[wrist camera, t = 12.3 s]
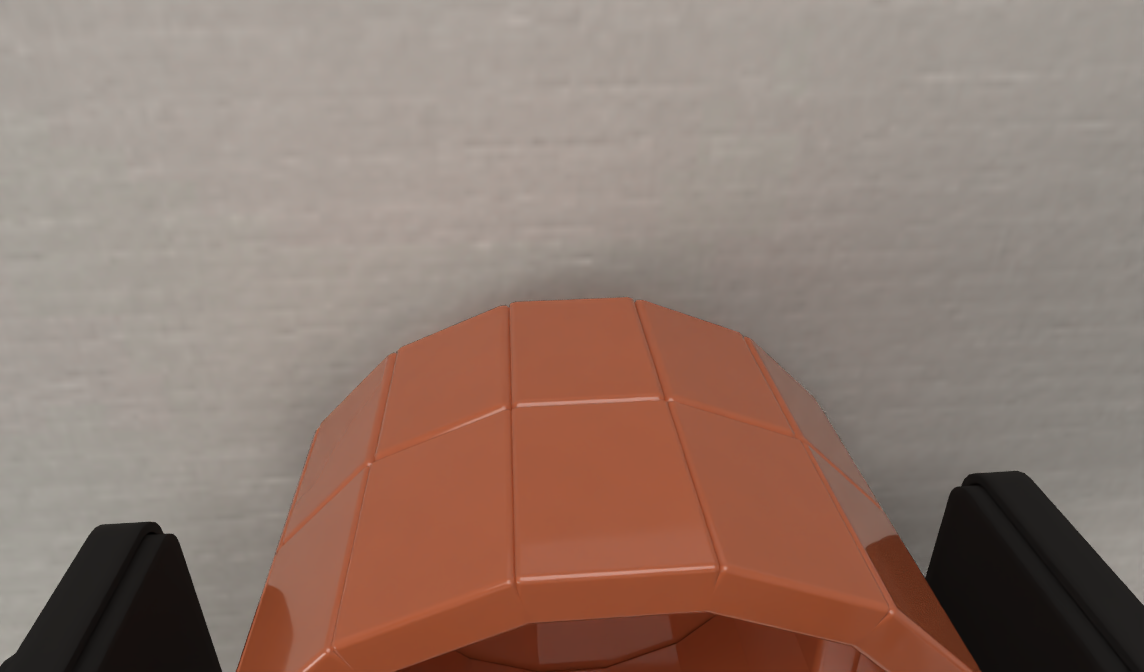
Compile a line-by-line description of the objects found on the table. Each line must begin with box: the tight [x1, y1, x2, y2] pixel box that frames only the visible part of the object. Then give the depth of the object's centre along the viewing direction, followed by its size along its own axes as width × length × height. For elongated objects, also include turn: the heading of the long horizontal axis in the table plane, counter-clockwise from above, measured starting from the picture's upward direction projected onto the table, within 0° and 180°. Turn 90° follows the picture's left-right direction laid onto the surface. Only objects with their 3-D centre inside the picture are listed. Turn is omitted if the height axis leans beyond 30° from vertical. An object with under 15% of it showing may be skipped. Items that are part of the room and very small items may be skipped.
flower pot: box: [236, 297, 981, 672], centre depth 9 cm, size 7×7×4 cm
